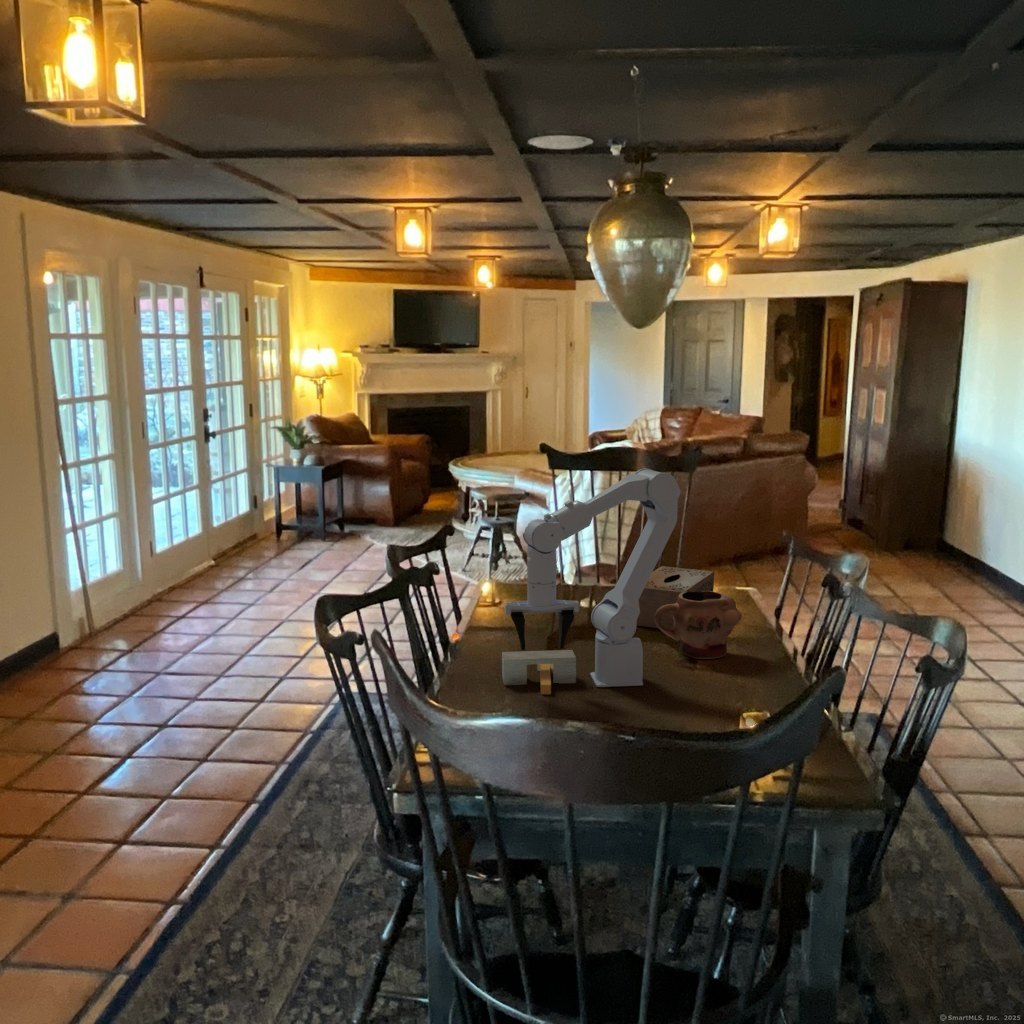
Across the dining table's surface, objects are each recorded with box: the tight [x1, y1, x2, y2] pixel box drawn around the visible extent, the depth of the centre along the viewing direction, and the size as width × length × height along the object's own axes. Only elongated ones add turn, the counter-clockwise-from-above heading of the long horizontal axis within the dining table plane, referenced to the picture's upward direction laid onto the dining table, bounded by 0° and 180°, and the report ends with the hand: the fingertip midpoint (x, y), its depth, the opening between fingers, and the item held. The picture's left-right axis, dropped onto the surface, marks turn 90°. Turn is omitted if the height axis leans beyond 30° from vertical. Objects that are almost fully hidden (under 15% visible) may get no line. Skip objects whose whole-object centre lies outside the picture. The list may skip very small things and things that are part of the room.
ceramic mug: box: [654, 591, 743, 660], centre depth 204 cm, size 20×12×14 cm, turn 105°
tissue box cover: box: [637, 565, 715, 630], centre depth 237 cm, size 26×14×10 cm, turn 152°
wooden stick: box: [536, 664, 552, 695], centre depth 189 cm, size 17×3×3 cm, turn 179°
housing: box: [501, 649, 577, 686], centre depth 189 cm, size 15×5×5 cm, turn 95°
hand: (541, 648), depth 183 cm, fingers open, 7 cm apart
